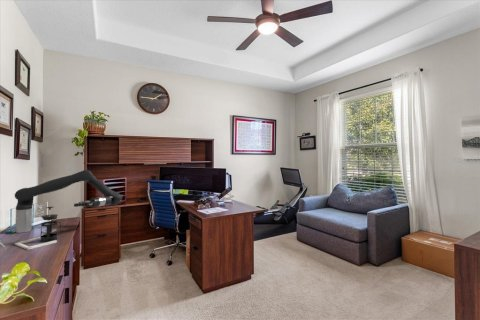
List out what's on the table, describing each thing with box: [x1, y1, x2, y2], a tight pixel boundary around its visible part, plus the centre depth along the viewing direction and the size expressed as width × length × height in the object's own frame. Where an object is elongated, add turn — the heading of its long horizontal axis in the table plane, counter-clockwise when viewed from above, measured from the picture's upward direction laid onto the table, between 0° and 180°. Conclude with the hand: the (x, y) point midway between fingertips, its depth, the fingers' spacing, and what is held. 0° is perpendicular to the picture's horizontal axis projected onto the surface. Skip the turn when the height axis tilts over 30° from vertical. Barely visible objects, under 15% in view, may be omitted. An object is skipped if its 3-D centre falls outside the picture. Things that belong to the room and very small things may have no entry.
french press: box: [39, 206, 62, 243], centre depth 160 cm, size 12×9×23 cm
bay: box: [14, 236, 58, 250], centre depth 153 cm, size 18×16×1 cm
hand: (74, 205), depth 173 cm, fingers closed
